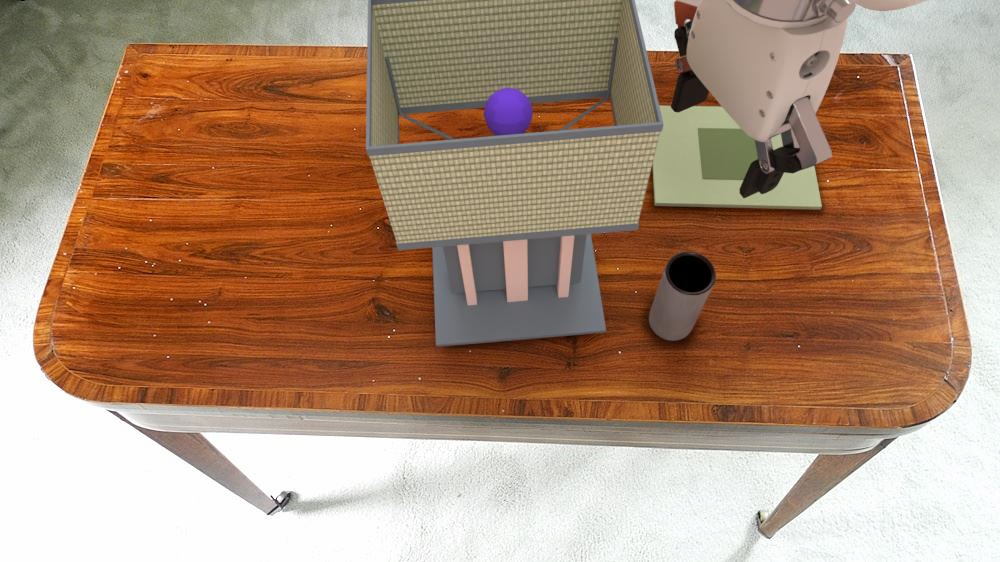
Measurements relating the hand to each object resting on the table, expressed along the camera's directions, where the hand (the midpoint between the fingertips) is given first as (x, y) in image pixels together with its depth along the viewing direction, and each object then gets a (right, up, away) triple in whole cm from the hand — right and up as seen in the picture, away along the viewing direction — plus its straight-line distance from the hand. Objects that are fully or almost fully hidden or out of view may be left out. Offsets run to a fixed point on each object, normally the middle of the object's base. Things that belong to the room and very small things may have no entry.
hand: (721, 145), depth 59 cm
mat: (+9, +3, +24) cm, 26 cm away
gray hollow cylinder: (-1, -15, +15) cm, 22 cm away
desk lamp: (-16, -12, +18) cm, 27 cm away
